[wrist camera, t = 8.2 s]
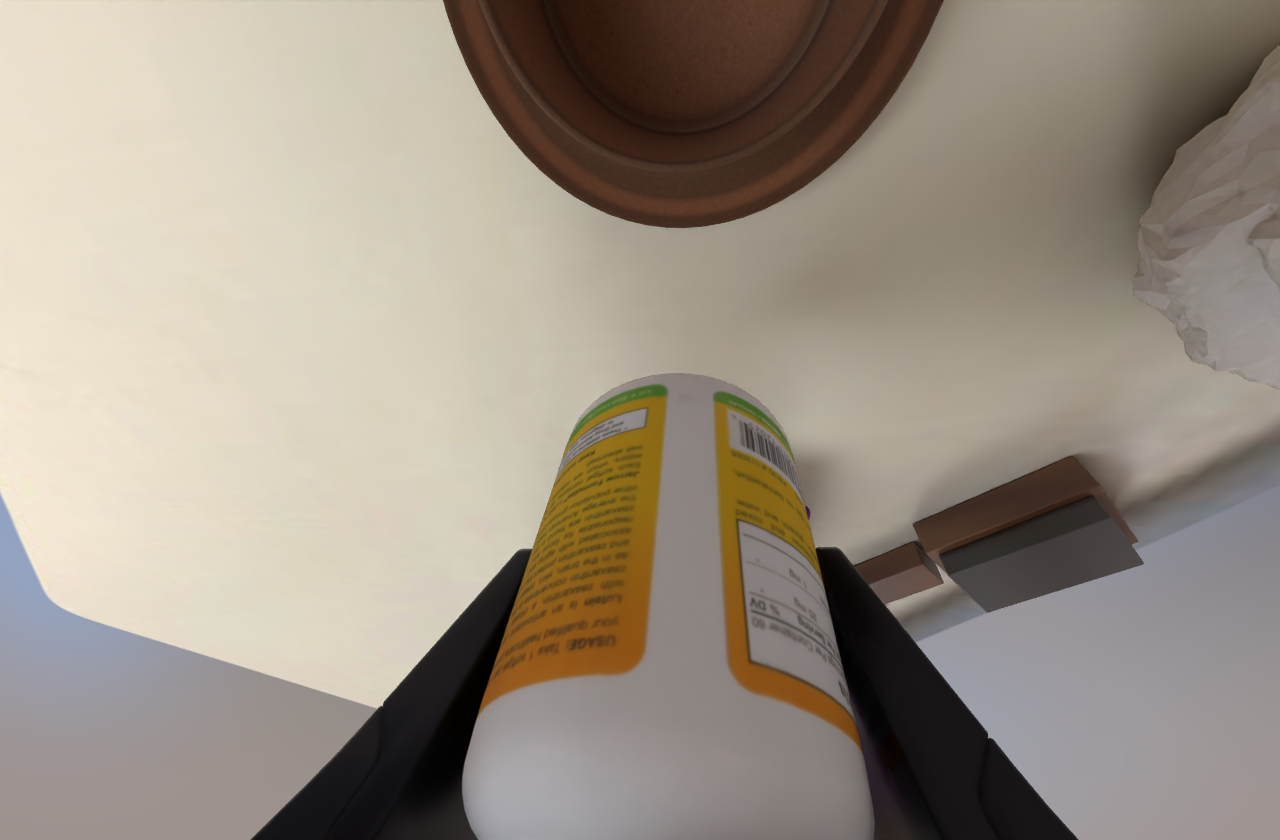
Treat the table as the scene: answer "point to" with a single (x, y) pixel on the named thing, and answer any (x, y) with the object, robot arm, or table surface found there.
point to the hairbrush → (1013, 542)
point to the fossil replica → (1222, 237)
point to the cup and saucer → (687, 93)
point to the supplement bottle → (670, 641)
